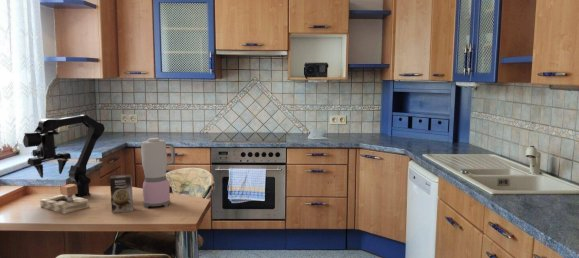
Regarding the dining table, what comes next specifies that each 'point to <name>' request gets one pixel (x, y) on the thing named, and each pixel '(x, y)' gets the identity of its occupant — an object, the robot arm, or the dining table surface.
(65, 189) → the wooden block metal peg
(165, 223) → the dining table surface
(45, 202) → the keyhole box
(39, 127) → the robot arm
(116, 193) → the coffee box
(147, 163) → the blender
